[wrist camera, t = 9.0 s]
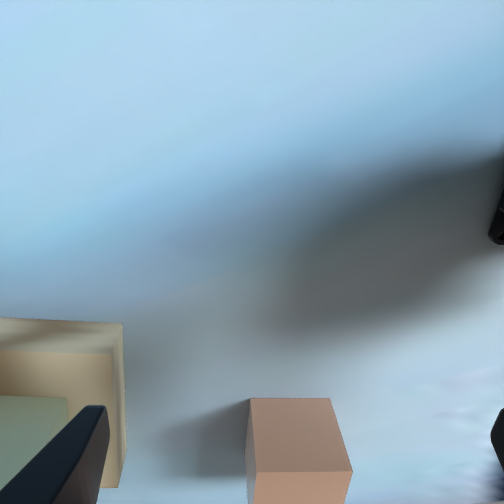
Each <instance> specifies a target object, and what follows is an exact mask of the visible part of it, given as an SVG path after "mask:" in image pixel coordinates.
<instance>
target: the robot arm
mask: <svg viewBox="0 0 504 504" xmlns="http://www.w3.org/2000/svg"><path fill="white" fill-rule="evenodd" d="M502 231H503V233H502V234H501V235H500V236H499V237H498V234H499V233H500V232H502ZM488 237H489V239H490V240H491V241H493V242H494V243H496V244H499V245H504V190H503V193H502V196H501V199H500V201H499V204H498V208H497V210H496V213H495V216H494V219H493V221H492V224H491V227H490V230H489V233H488ZM109 441H110V427H109V419H108V412H107V408H106V406H105V405H87V406H85V407H84V408H83V409H82V410H81V411H80V412H79V413H78V414H77V415H76V416H75V417H74V418H73V419H72V420H71V421H70V422H69V423H68V424H67V425H66V426H65V427H64V428H63V429H61V430H60V431H59V432H58V433H57V434H56V435H55V436H54V437H53V438H52V439H51V440H50V441H49V442H48V443H47V444H46V445H45V446H44V447H43V448H42V449H41V450H40V451H39V452H38V453H37V454H36V455H35V456H34V457H33V458H32V459H31V460H30V461H29V462H28V463H27V464H26V465H25V466H24V467H23V468H22V469H21V470H20V471H19V472H18V473H17V474H16V475H15V476H14V477H13V478H12V479H11V480H10V481H9V482H8V483H7V484H6V485H5V486H4V487H3V488H2V489H1V490H0V504H96V502H97V497H98V493H99V488H100V483H101V479H102V474H103V469H104V465H105V460H106V455H107V451H108V446H109ZM491 442H492V445H493V447H494V450H495V452H496V454H497V457H498V459H499V462H500V464H501V466H502V469H503V471H504V408H503V409H502V410H501V411H500V412H499V415H498V417H497V419H496V421H495V423H494V426H493V428H492V430H491Z"/></svg>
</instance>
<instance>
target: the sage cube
mask: <svg viewBox="0 0 504 504" xmlns="http://www.w3.org/2000/svg"><path fill="white" fill-rule="evenodd" d="M68 423H69V419H68V411H67V402H66V398H58V397H30V396H2V395H0V490H1V489H2V488H3V487H4V486H5V485H6V484H7V483H8V482H9V481H10V480H11V479H12V478H13V477H14V476H15V475H16V474H17V473H18V472H19V471H20V470H21V469H22V468H23V467H24V466H25V465H26V464H27V463H28V462H29V461H30V460H31V459H32V458H33V457H34V456H35V455H36V454H37V453H38V452H39V451H40V450H41V449H42V448H43V447H44V446H45V445H46V444H47V443H48V442H49V441H50V440H51V439H52V438H53V437H54V436H55V435H56V434H57V433H58V432H59V431H60V430H61V429H63V428H64V427H65V426H66V425H67V424H68Z"/></svg>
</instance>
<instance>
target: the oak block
mask: <svg viewBox="0 0 504 504" xmlns="http://www.w3.org/2000/svg"><path fill="white" fill-rule="evenodd" d="M0 395H2V396H30V397H58V398H66V402H67V411H68V419H69V422H70V421H71V420H72V419H73V418H74V417H75V416H76V415H77V414H78V413H79V412H80V411H81V410H82V409H83V408H84V407H85V406H87V405H105V406H106V408H107V412H108V419H109V427H110V441H109V446H108V451H107V455H106V460H105V465H104V469H103V474H102V479H101V483H100V488H118V485H119V481H120V476H121V472H122V468H123V464H124V460H125V456H126V451H127V442H126V413H125V384H124V356H123V327H122V323H103V322H83V321H63V320H43V319H23V318H3V317H0Z"/></svg>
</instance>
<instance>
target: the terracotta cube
mask: <svg viewBox="0 0 504 504" xmlns="http://www.w3.org/2000/svg"><path fill="white" fill-rule="evenodd" d="M245 466H246V483H247V501H248V504H344V501H345V498H346V494H347V491H348V487H349V483H350V480H351V476H352V473H353V470H352V467H351V464H350V461H349V458H348V454H347V451H346V448H345V445H344V442H343V438H342V435H341V432H340V429H339V426H338V423H337V419H336V416H335V413H334V410H333V407H332V404H331V400H330V399H329V398H250V407H249V417H248V427H247V436H246V446H245Z"/></svg>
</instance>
